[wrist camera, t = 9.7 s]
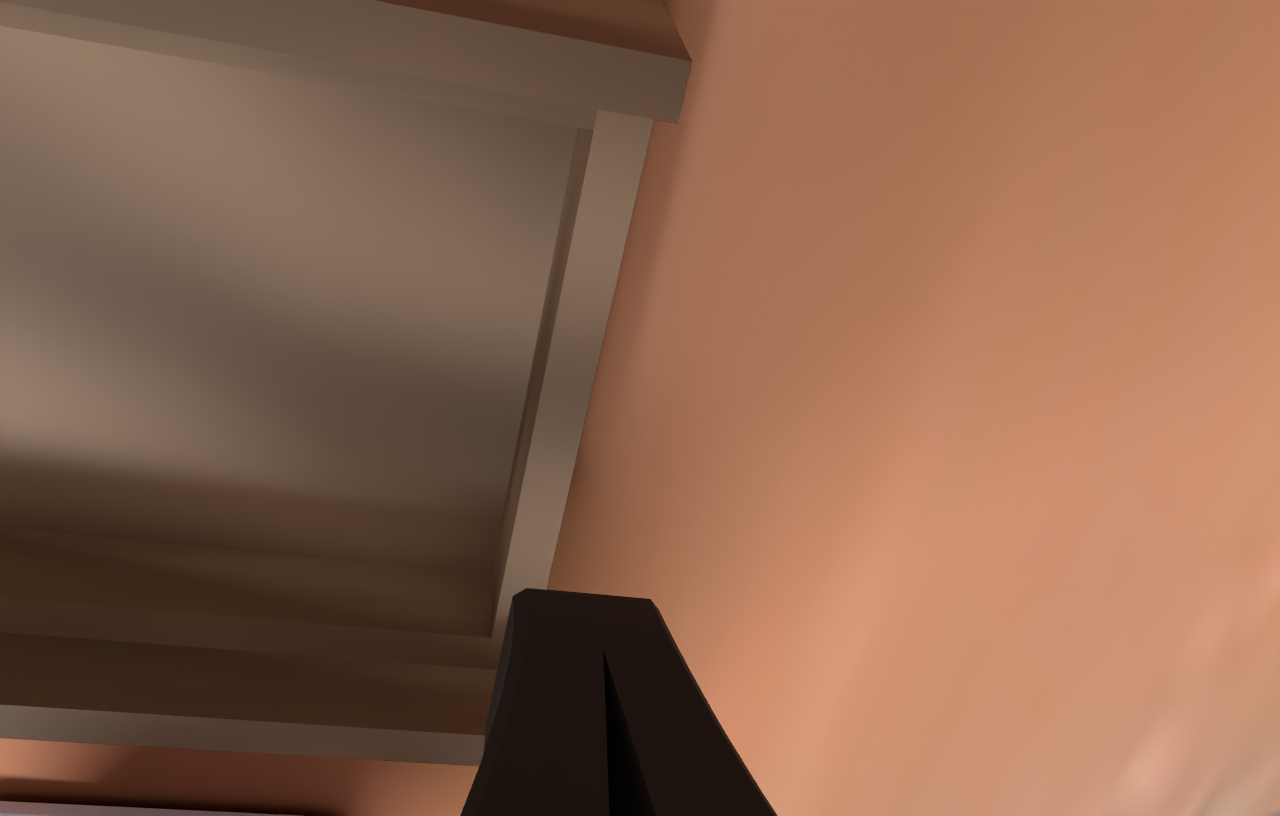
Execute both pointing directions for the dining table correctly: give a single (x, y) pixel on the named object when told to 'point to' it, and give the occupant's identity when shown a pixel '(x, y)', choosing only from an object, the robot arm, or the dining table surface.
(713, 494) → the dining table surface
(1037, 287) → the dining table surface
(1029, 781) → the dining table surface
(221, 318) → the case
